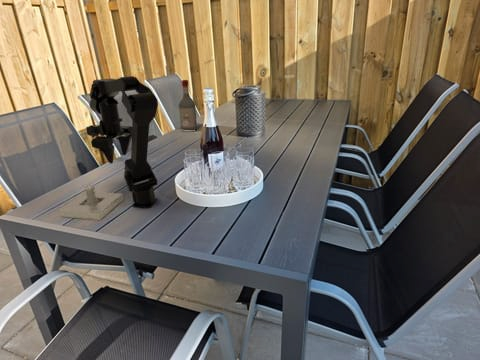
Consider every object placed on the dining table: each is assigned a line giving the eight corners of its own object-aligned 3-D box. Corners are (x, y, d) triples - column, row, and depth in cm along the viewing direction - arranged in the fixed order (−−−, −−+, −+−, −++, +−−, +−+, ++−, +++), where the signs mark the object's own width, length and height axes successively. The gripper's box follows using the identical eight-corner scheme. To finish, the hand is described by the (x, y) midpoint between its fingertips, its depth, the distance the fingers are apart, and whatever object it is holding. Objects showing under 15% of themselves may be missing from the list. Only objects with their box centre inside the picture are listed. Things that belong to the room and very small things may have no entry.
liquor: (195, 131, 196) (191, 81, 183) (180, 132, 196) (175, 81, 184) (197, 128, 204) (193, 79, 192) (183, 128, 204) (178, 79, 192)
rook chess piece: (97, 203, 111) (92, 182, 108) (103, 207, 108) (98, 186, 105) (84, 208, 108) (79, 186, 105) (90, 212, 105) (85, 190, 102)
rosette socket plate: (123, 200, 113) (122, 193, 112) (100, 220, 100) (98, 213, 99) (88, 197, 116) (86, 191, 115) (61, 216, 103) (59, 209, 102)
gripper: (104, 110, 121) (112, 150, 127) (72, 122, 104) (82, 166, 110) (131, 111, 119) (138, 151, 125) (102, 123, 102) (111, 168, 108)
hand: (118, 158), depth 117 cm, fingers open, 9 cm apart
